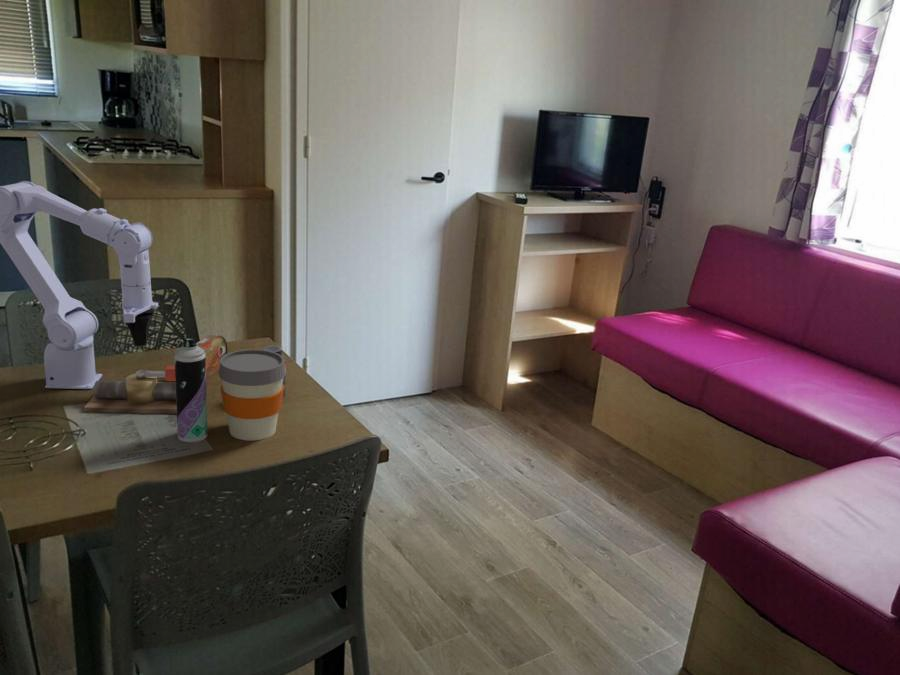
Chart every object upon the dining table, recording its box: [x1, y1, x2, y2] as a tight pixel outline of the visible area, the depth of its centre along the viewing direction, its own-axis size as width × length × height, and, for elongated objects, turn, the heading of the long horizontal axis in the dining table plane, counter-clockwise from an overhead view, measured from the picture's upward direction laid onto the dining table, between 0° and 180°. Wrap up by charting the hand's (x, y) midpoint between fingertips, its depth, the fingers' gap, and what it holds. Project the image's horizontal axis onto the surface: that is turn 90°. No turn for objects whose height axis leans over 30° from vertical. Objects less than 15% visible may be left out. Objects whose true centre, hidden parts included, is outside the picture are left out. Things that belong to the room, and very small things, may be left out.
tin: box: [195, 334, 229, 380], centre depth 176 cm, size 15×3×8 cm, turn 166°
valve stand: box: [83, 373, 177, 415], centre depth 159 cm, size 20×10×6 cm, turn 97°
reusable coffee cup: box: [218, 348, 287, 442], centre depth 150 cm, size 13×13×15 cm
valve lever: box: [135, 364, 175, 382], centre depth 158 cm, size 10×2×3 cm, turn 97°
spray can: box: [174, 337, 208, 443], centre depth 144 cm, size 6×6×20 cm
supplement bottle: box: [262, 345, 287, 398], centre depth 166 cm, size 6×6×11 cm
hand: (140, 344), depth 163 cm, fingers closed
